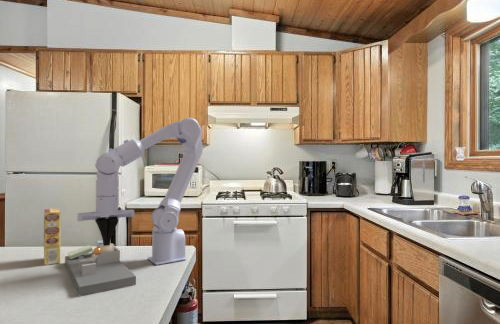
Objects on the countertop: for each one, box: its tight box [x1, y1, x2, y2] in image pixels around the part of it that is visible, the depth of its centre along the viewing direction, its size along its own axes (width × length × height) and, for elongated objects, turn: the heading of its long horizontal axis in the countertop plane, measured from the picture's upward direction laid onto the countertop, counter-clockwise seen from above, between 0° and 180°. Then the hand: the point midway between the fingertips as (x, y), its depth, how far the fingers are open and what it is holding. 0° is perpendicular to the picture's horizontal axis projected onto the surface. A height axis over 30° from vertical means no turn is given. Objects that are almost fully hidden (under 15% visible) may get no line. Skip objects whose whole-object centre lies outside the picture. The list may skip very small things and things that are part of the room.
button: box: [99, 242, 115, 253], centre depth 89 cm, size 4×4×3 cm
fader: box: [96, 239, 103, 247], centre depth 96 cm, size 3×4×4 cm
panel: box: [64, 246, 137, 297], centre depth 85 cm, size 12×30×5 cm, turn 35°
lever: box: [87, 246, 102, 264], centre depth 80 cm, size 2×3×6 cm
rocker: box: [67, 244, 94, 259], centre depth 93 cm, size 6×4×1 cm
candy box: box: [43, 208, 62, 266], centre depth 96 cm, size 9×4×15 cm, turn 33°
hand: (106, 244), depth 89 cm, fingers closed
